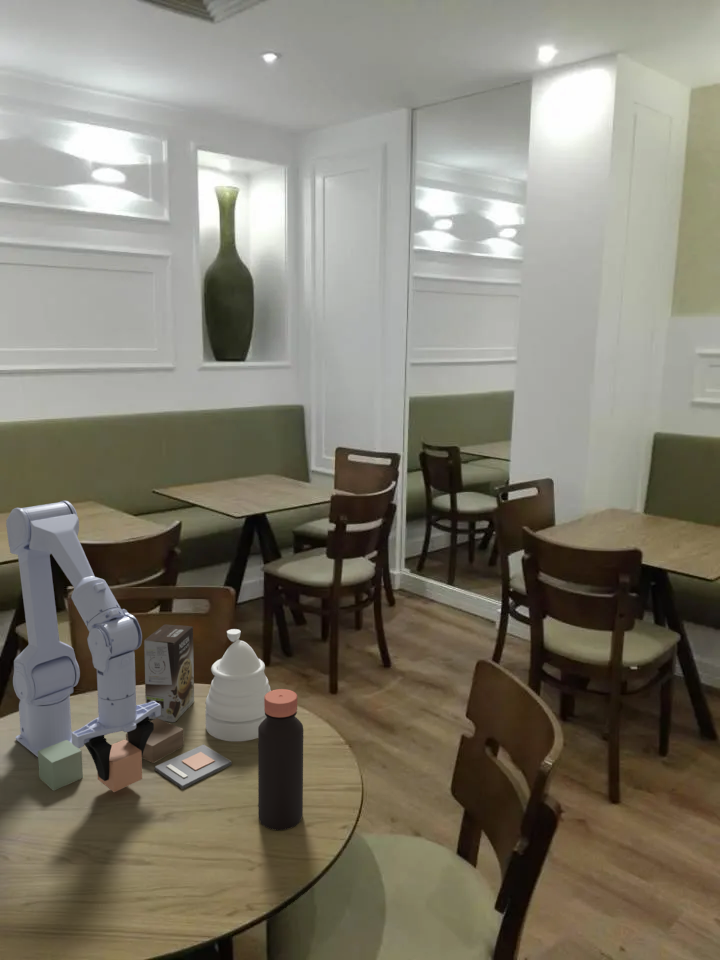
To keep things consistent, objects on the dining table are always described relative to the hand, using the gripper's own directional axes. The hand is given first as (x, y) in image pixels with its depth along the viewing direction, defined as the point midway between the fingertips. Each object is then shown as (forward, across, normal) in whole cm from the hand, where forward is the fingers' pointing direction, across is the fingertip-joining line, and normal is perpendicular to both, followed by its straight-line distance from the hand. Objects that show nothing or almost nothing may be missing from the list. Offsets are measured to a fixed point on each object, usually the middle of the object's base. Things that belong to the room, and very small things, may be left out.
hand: (119, 770), depth 120 cm
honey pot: (+4, +27, +3) cm, 27 cm away
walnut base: (+4, +11, +7) cm, 14 cm away
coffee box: (+4, +21, +17) cm, 27 cm away
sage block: (+3, -5, +10) cm, 12 cm away
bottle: (+3, +13, -24) cm, 28 cm away
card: (+3, +12, -3) cm, 13 cm away
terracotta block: (+2, 0, 0) cm, 2 cm away
